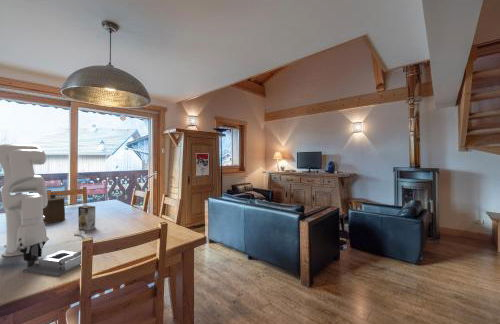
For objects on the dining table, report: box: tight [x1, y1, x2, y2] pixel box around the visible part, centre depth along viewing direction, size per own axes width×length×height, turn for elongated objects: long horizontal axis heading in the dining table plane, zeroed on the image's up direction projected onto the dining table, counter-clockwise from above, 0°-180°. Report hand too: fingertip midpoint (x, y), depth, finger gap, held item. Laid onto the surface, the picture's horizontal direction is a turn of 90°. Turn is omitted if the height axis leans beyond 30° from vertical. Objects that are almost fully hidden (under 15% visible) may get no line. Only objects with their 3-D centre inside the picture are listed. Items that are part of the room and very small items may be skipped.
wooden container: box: [43, 193, 66, 224], centre depth 185 cm, size 15×15×22 cm
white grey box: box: [39, 250, 82, 271], centre depth 109 cm, size 15×11×5 cm
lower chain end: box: [34, 257, 63, 270], centre depth 110 cm, size 15×11×3 cm
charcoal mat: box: [22, 264, 81, 278], centre depth 110 cm, size 20×16×1 cm
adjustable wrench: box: [73, 230, 90, 239], centre depth 148 cm, size 25×6×2 cm, turn 48°
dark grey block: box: [26, 244, 40, 268], centre depth 110 cm, size 4×4×10 cm
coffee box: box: [77, 205, 96, 231], centre depth 166 cm, size 9×6×16 cm
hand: (32, 258), depth 110 cm, fingers closed on dark grey block, 4 cm apart
